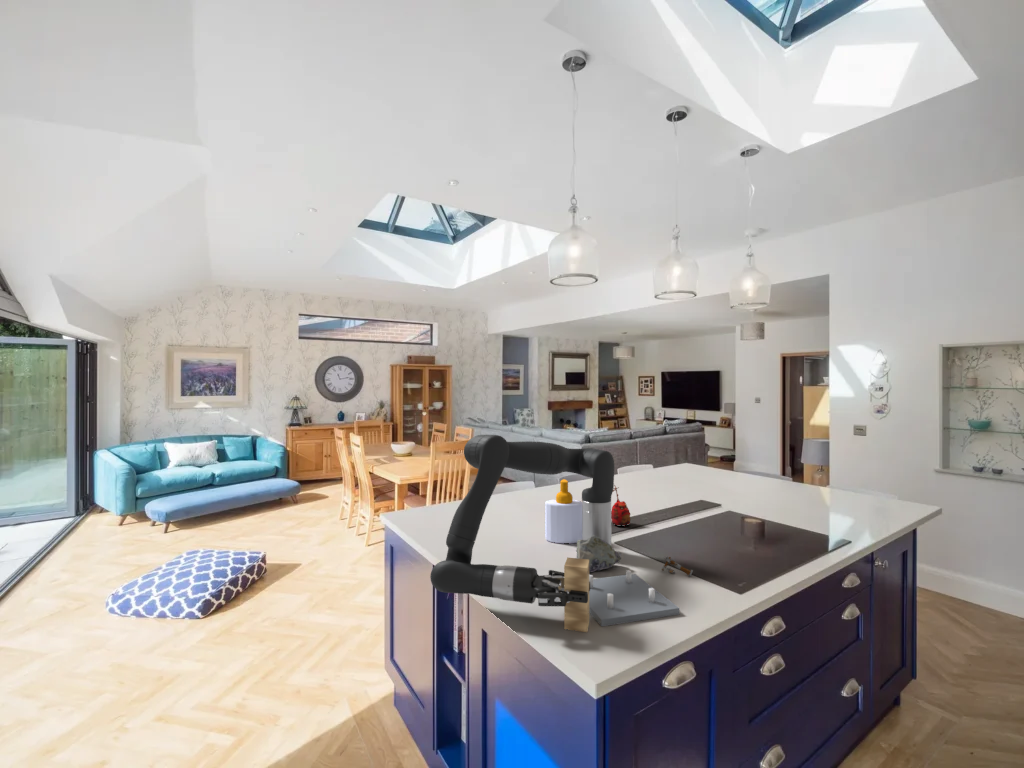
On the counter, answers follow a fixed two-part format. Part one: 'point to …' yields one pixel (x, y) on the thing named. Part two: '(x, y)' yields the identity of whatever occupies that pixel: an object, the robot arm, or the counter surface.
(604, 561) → the mineral rock
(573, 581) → the oak post
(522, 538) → the counter surface
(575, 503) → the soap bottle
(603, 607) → the peg board
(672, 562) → the orange grey jointed piece
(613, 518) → the red clay folk toy
